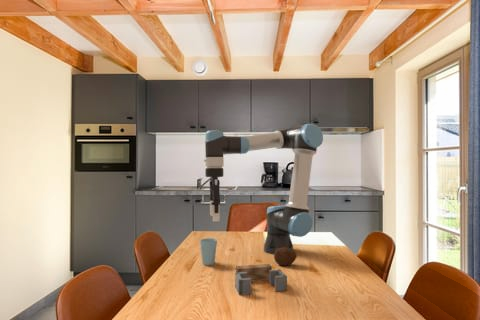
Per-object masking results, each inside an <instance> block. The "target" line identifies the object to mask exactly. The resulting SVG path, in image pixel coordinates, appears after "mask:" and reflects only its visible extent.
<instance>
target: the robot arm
mask: <svg viewBox="0 0 480 320" xmlns="http://www.w3.org/2000/svg"><path fill="white" fill-rule="evenodd" d="M323 142H324V133H323V131H322V130H321V128H320V127H319V126H318V125H316V124H314V123H305V124H300V125H295V126H294V125H293V126H290V127H287V128H284V129H280V130H278V129H277V130H275V131H274V132H269V133H268V132H267V133H261V134H253V135H252V134H251V135H245V136H244V135H243V136H241V135H240V136H238V135H237V136H236V135H234V136H232V135H224V131H223V130H218V129H217V130H216V129H212V130H207V131H206V132H205V139H204V144H205V145H204V147H205V148H204V149H205V150H204V151H205V159H204V160H203V162H204V163H205V167H206V168H205V172H204V173H205V177H206V178H210V179H209V184H208V185H209V200H210V201H209V216H210V217H212V222H220V220H221V219H220V218H221V215H220V211H221V210H220V206H221V196H220V195H221V193H220V185H221V183H220V179H219V178H223V177H224V159H225V158H224V155H237V154H239V155H242V154H247V153H248V152H252V151H259V150H260V151H261V150H267V149H273V148H274V149H276V150H280V149H281V150H283V149H290V150H291V149H292V152H293V153H294V160H293V165H292V166H293V167H292V174H291V182H290V189H289V195H288V196H289V198H288V202H286V204H285V205H273V206H268V207H267V209H266V238H265V241H264V244H263V251H264V252H265V253H268V254H272V255H274V253H275V251H276V249H277V248H283V247H286V248H289V249H291V250H293V251H294V244H293V241H292V239H291V238H292V237H291V236H293V237H299V238H301V237H304V236H307V234H309V233H310V232H311V230H312V228H313V225H314V223H313V217H312V216H311V214H310V208H309V207H308V206H307V205H308V196H309V189H310V188H309V187H310V179H311V173H312V166H313V165H312V164H313V157H314V155H316V154H317V151H318V148H319V147H320V146H321V145H322V144H323Z"/></svg>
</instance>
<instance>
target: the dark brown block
mask: <svg viewBox="0 0 480 320" xmlns="http://www.w3.org/2000/svg"><path fill="white" fill-rule="evenodd" d="M269 270H273V269H272V265H271V264H270V263H263V264H261V263H260V264H249V265H236V266H235V273H239V272H247V278H251V282H253V280H254V281H264V280H265V279H266V280H269ZM266 280H265V281H266Z"/></svg>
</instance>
